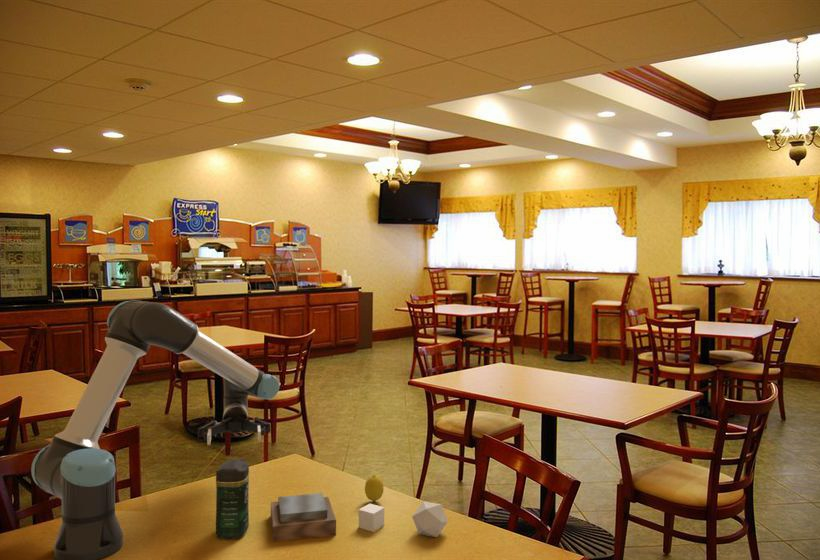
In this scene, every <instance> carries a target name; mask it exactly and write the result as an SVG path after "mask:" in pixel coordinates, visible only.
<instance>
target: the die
mask: <svg viewBox="0 0 820 560" xmlns="http://www.w3.org/2000/svg"><path fill="white" fill-rule="evenodd" d="M411 517H412V520H413V523H414V525H415V527H416V531H417V533H418V535H422V536H427V537H433V538H438V537H439V536H440V534H441V532H442V531H443V529H444V528H445V526H446V525H447V524H448V523H449V522H448V521H449V520H448V519H447V515H446V513H445V511H444V508H443V505H442V504H440V503H436V502H429V501H425V500H424V501H422V503H421V504H420V505H419V506H418V508H417V509H416V511H415V512H414V513H413V515H412V516H411Z"/></svg>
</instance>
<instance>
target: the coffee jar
mask: <svg viewBox="0 0 820 560" xmlns="http://www.w3.org/2000/svg"><path fill="white" fill-rule="evenodd" d="M215 474H216V476H215V485H216V486H215V489H216V493H215V494H216V495H215V499H216V502H215V506H216V508H215V536H216V538H220V539H223V540H233V539H238V538H242V537H243V536H244V535H245V534H246V533H247V531H248V529H249V526H250V525H249V523H250V522H249V521H250V520H249V519H250V515H249V512H250V511H249V485H250V483H249V481H250V465H249V463H248V462H247V461H245V459H243V458H241V459H239V458H237V459H235V458H232V459H231V458H230V459H229V458H228V460H227V461H225V462H223V463H222V464H220V466H219V467H217V470H216V473H215Z"/></svg>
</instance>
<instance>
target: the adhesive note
mask: <svg viewBox="0 0 820 560" xmlns="http://www.w3.org/2000/svg"><path fill="white" fill-rule="evenodd" d="M384 526H385V506H380V505H376V504H373V503H368V504H367V505H365V506H362V507H361V508H359V509H358V528H360V529H363V530H364V531H365V530H366V531H369V532H373V533H375V532H376V531H377V530H379V529H380V528H382V527H384Z"/></svg>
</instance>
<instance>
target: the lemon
mask: <svg viewBox="0 0 820 560" xmlns="http://www.w3.org/2000/svg"><path fill="white" fill-rule="evenodd" d="M365 481H366V482H365V485H364V492H365V493H364V494H365V495H366V497H367V499H368V500H370V501H372V503H376V502H377V501H378V500H380V499H381V498H382V496H383V494H384V489H385V488H384V484H383V483H384V482H383V480H382V479H381V478H380V477H379V476H377V475H375V474H373V475H372V476H370V477H369V478H368V479H367V480H365Z"/></svg>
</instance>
